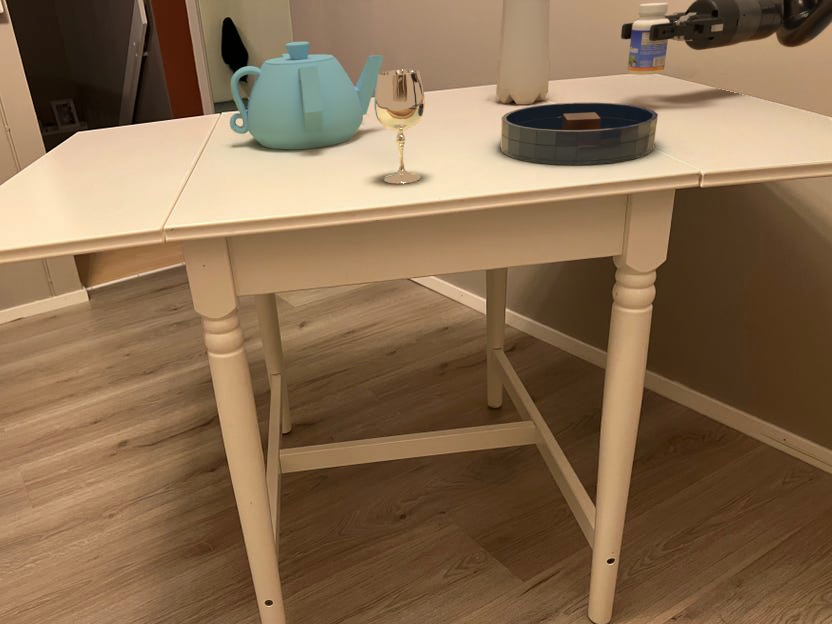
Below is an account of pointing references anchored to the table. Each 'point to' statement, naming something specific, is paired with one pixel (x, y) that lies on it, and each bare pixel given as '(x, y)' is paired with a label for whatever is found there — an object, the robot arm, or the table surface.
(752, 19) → the robot arm
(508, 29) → the bottle
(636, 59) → the pill bottle
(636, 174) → the table surface
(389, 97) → the wineglass
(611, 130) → the bowl
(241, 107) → the teapot
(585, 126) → the block
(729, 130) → the table surface
